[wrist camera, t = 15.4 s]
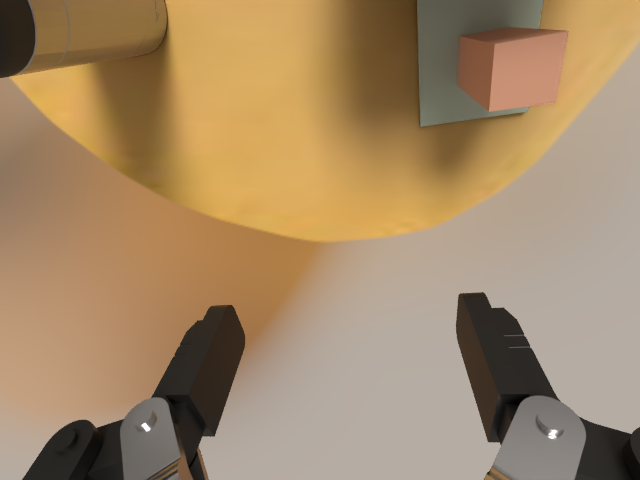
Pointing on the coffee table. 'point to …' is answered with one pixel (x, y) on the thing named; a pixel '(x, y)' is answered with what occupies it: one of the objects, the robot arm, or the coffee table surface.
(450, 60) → the sage mat
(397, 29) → the coffee table surface
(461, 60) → the terracotta block
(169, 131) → the coffee table surface
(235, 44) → the coffee table surface
